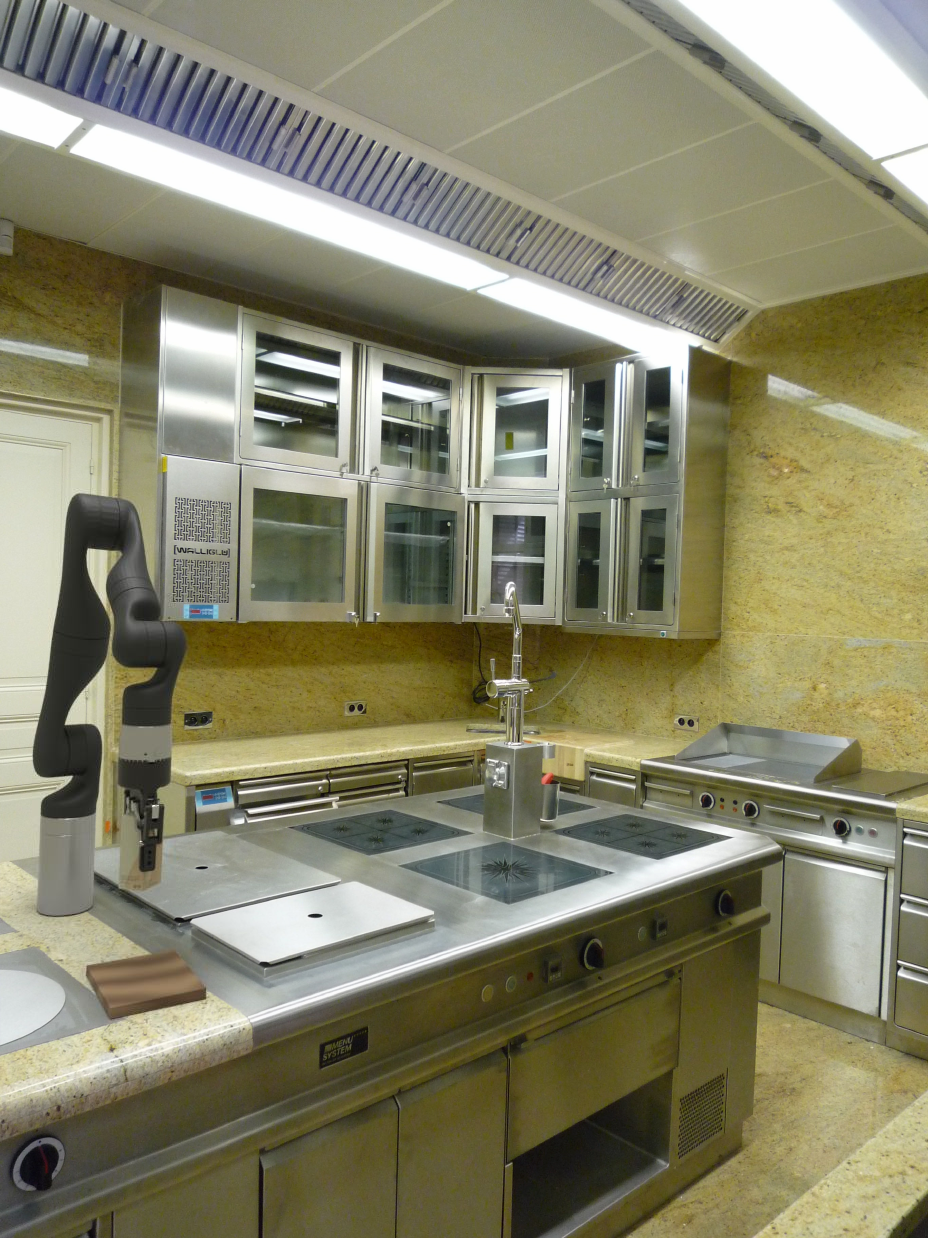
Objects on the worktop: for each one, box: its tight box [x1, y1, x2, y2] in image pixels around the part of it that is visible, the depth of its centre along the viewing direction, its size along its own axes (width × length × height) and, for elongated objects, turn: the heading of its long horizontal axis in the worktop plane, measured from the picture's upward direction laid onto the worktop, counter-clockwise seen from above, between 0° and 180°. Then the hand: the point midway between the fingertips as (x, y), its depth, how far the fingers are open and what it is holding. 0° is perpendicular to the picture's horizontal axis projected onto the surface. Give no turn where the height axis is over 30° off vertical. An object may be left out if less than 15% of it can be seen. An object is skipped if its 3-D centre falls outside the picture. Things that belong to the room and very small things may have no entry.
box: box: [118, 812, 165, 892], centre depth 132 cm, size 5×4×11 cm
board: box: [85, 949, 207, 1020], centre depth 128 cm, size 16×13×2 cm
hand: (141, 864), depth 132 cm, fingers closed on box, 6 cm apart
